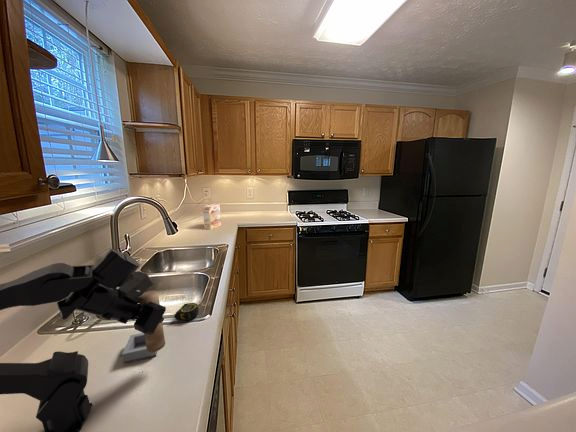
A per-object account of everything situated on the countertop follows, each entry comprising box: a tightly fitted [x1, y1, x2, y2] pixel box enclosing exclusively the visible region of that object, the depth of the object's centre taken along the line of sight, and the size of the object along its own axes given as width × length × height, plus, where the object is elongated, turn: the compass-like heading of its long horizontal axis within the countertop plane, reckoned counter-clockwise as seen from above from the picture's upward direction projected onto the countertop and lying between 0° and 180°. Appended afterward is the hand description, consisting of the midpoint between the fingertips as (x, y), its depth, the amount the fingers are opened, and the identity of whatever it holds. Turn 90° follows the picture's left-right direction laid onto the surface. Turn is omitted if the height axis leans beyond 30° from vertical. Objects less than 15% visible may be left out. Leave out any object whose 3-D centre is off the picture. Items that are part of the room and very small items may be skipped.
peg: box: [138, 290, 166, 352], centre depth 63 cm, size 4×4×15 cm
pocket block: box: [121, 332, 158, 364], centre depth 71 cm, size 8×8×3 cm
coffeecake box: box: [202, 203, 222, 230], centre depth 209 cm, size 15×7×20 cm, turn 159°
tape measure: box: [173, 302, 200, 321], centre depth 87 cm, size 7×7×4 cm
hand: (157, 317), depth 65 cm, fingers closed on peg, 4 cm apart
